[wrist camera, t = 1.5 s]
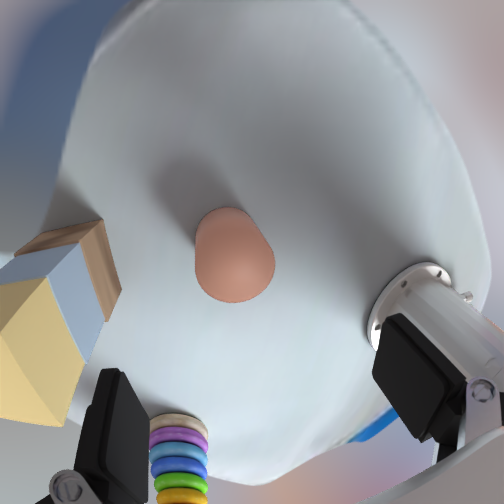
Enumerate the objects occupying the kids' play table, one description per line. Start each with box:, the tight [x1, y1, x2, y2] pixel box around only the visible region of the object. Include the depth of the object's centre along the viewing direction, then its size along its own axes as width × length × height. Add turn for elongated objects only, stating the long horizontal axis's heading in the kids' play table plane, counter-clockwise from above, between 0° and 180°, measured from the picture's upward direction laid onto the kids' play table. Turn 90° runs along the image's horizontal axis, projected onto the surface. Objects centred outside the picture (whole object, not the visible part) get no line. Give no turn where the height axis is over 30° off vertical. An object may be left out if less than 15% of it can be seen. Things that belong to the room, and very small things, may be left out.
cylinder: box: [195, 207, 275, 303], centre depth 21 cm, size 5×5×6 cm
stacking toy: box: [149, 414, 208, 504], centre depth 23 cm, size 8×8×19 cm
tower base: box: [14, 219, 122, 322], centre depth 20 cm, size 6×6×5 cm
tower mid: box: [0, 242, 105, 365], centre depth 15 cm, size 6×6×5 cm
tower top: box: [0, 277, 85, 427], centre depth 11 cm, size 6×6×5 cm
